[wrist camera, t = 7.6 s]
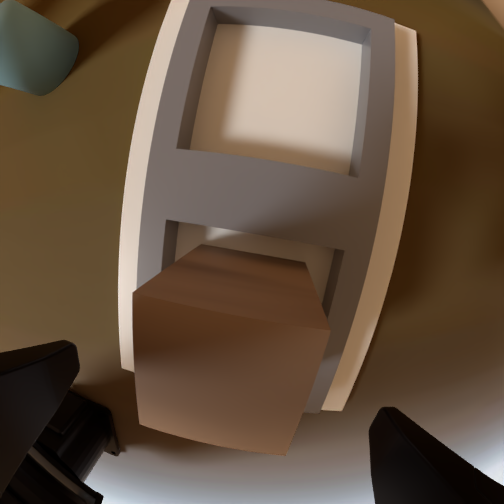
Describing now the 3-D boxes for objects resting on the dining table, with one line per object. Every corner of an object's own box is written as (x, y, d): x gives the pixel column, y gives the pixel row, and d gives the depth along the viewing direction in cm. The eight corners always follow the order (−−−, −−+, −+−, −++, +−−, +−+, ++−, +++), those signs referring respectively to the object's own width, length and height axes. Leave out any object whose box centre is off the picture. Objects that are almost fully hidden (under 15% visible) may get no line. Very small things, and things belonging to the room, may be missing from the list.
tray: (340, 405, 16) (346, 430, 13) (125, 363, 16) (108, 383, 14) (412, 35, 11) (428, 17, 8) (176, 1, 11) (163, -20, 9)
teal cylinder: (66, 90, 13) (-12, 64, 6) (23, 100, 13) (-45, 85, 6) (87, 27, 12) (26, -14, 5) (42, 42, 12) (-17, 16, 5)
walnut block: (284, 352, 14) (285, 455, 8) (191, 335, 15) (139, 424, 8) (305, 262, 13) (330, 330, 7) (200, 244, 14) (132, 292, 7)
